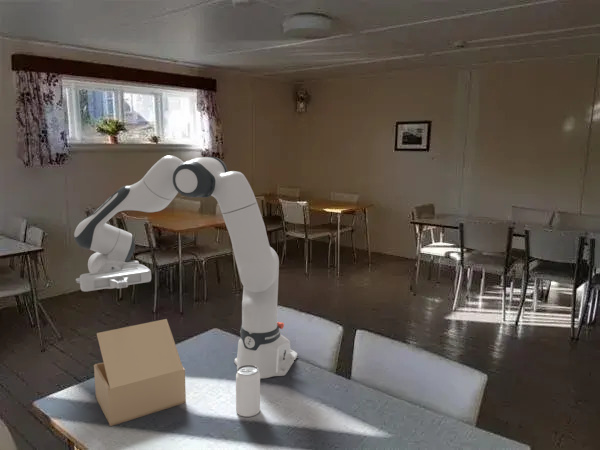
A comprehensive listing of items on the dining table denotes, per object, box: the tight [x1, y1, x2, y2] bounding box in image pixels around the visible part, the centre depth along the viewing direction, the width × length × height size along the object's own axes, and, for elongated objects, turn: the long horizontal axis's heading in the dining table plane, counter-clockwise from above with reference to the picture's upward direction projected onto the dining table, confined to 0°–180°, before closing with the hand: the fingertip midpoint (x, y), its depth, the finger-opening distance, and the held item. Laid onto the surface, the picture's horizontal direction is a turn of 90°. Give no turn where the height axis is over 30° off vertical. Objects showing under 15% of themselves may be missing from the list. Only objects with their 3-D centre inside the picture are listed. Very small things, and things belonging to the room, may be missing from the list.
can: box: [235, 365, 261, 418], centre depth 126 cm, size 6×6×12 cm
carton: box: [93, 362, 187, 427], centre depth 131 cm, size 16×20×10 cm
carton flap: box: [96, 318, 184, 389], centre depth 127 cm, size 16×19×1 cm
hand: (122, 285), depth 137 cm, fingers closed
